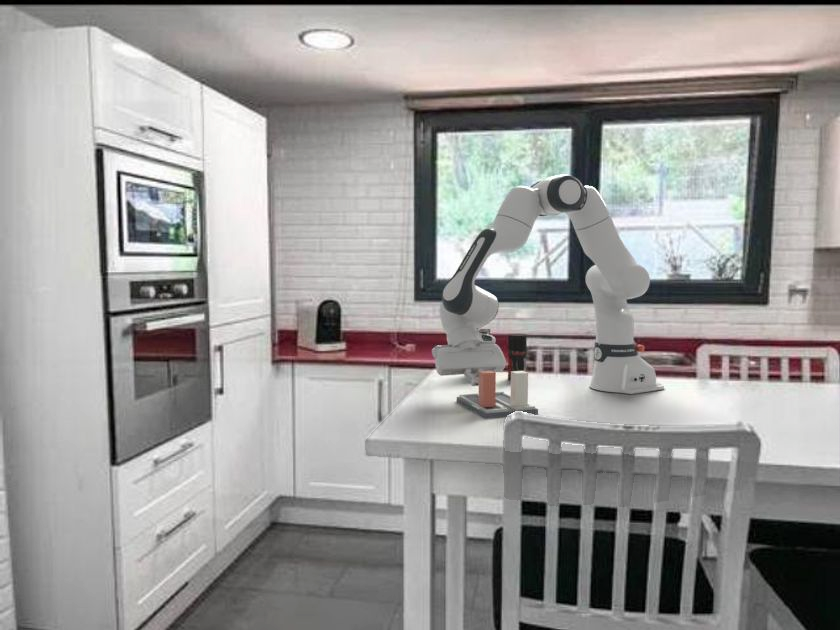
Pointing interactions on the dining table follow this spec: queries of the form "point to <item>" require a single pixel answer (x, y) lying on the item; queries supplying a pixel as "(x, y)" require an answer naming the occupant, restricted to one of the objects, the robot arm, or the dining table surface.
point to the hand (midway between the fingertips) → (477, 384)
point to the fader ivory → (519, 388)
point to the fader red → (487, 388)
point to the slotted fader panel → (499, 410)
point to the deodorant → (516, 353)
